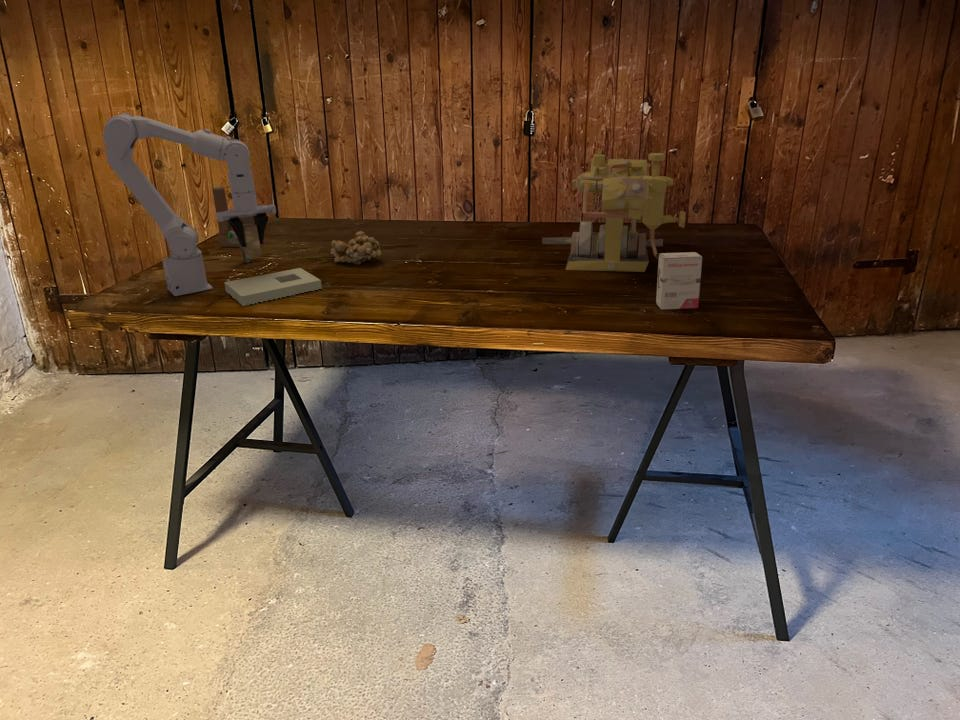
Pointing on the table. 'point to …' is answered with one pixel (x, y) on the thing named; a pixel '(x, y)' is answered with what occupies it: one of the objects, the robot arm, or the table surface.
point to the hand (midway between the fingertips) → (252, 244)
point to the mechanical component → (232, 239)
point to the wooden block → (224, 225)
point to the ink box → (678, 280)
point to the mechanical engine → (619, 215)
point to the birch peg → (251, 241)
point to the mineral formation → (356, 249)
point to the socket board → (272, 286)
